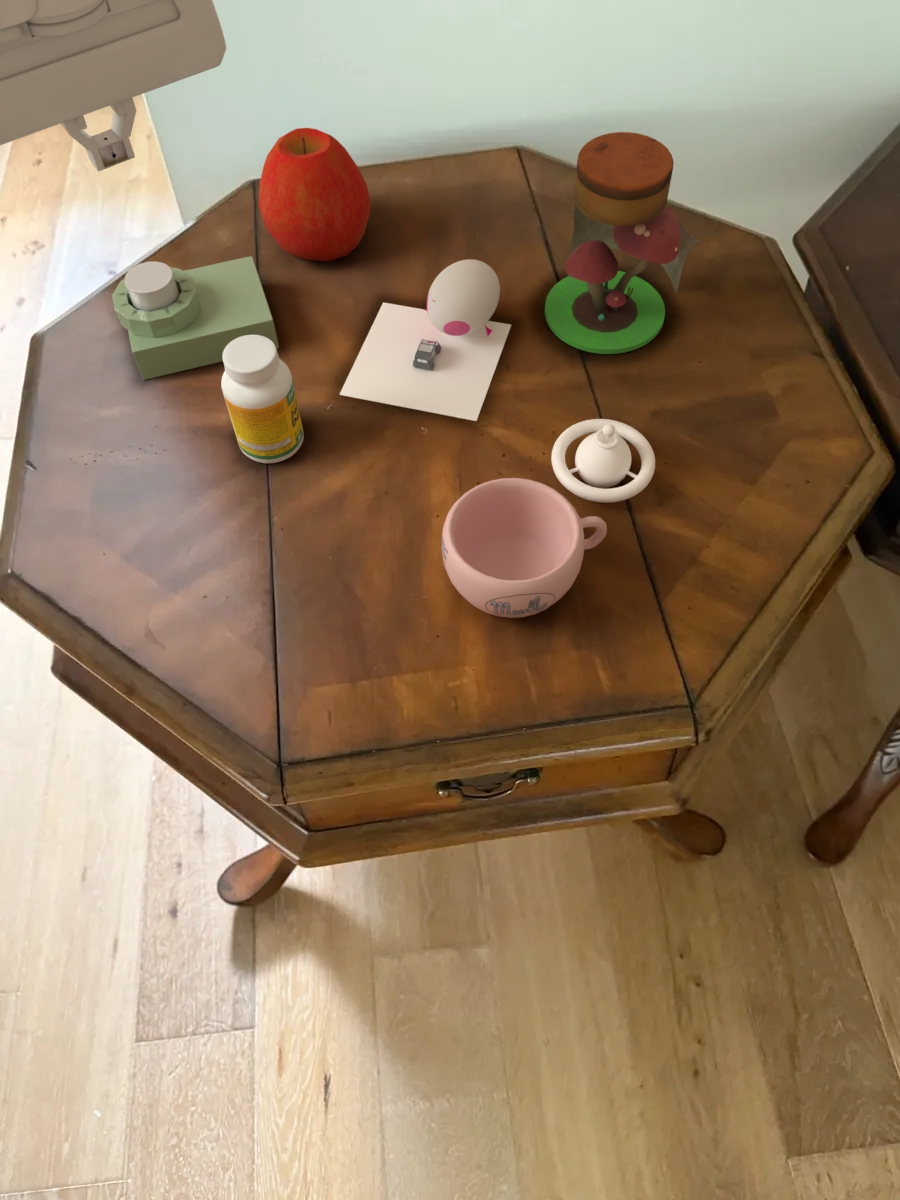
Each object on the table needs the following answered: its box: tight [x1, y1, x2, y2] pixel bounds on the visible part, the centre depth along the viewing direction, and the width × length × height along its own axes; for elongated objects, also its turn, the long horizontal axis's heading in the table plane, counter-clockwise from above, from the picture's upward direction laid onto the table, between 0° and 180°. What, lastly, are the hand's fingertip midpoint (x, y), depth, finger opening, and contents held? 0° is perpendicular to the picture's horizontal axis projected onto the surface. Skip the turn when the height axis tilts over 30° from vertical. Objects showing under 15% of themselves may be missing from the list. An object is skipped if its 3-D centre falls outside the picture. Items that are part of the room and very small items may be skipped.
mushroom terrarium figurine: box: [544, 131, 702, 355], centre depth 80 cm, size 12×13×15 cm
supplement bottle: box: [220, 335, 305, 464], centre depth 75 cm, size 5×5×10 cm
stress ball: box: [421, 257, 501, 337], centre depth 84 cm, size 8×8×7 cm
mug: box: [440, 477, 608, 619], centre depth 69 cm, size 12×10×6 cm
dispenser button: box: [124, 260, 179, 312], centre depth 81 cm, size 4×4×2 cm
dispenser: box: [111, 255, 280, 381], centre depth 84 cm, size 12×9×5 cm
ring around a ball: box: [550, 418, 656, 504], centre depth 74 cm, size 8×6×8 cm
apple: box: [258, 127, 371, 262], centre depth 89 cm, size 10×10×10 cm
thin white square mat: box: [339, 302, 512, 422], centre depth 83 cm, size 12×12×2 cm
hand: (113, 161), depth 71 cm, fingers closed
